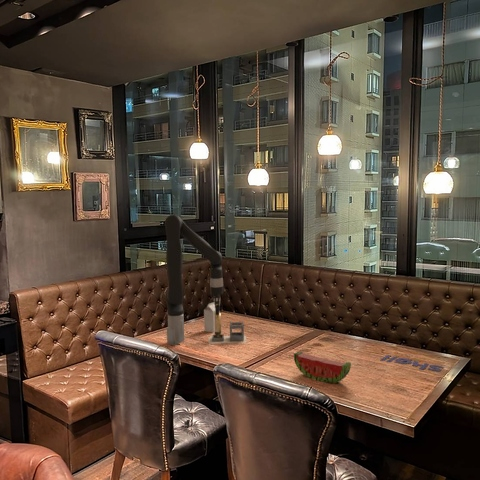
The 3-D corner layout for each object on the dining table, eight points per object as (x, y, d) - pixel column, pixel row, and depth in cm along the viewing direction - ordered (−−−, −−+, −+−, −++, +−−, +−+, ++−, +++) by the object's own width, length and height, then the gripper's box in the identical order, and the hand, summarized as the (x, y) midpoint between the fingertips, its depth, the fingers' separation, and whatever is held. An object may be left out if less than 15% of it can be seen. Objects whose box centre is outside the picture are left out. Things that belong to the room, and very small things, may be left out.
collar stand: (212, 341, 251) (211, 326, 251) (212, 337, 259) (212, 322, 259) (243, 341, 252) (243, 325, 251) (243, 336, 260) (243, 322, 259)
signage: (444, 366, 212) (438, 372, 204) (444, 367, 212) (438, 374, 204) (387, 354, 230) (380, 359, 222) (387, 355, 230) (380, 361, 222)
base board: (208, 346, 249) (208, 343, 248) (209, 338, 262) (209, 336, 262) (246, 345, 249) (246, 342, 249) (245, 337, 263) (245, 335, 263)
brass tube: (217, 341, 253) (217, 314, 251) (213, 339, 256) (213, 312, 254) (222, 339, 256) (222, 312, 254) (218, 338, 258) (217, 311, 257)
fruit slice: (293, 374, 206) (293, 354, 205) (300, 370, 211) (300, 350, 210) (345, 388, 190) (345, 366, 189) (351, 383, 194) (351, 361, 194)
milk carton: (220, 331, 276) (219, 302, 274) (213, 334, 270) (212, 304, 268) (211, 330, 280) (210, 301, 278) (204, 333, 274) (203, 303, 272)
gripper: (223, 287, 246) (223, 315, 247) (223, 283, 260) (224, 309, 261) (209, 288, 246) (210, 316, 247) (210, 283, 260) (211, 310, 261)
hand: (217, 312), depth 254 cm, fingers open, 8 cm apart
